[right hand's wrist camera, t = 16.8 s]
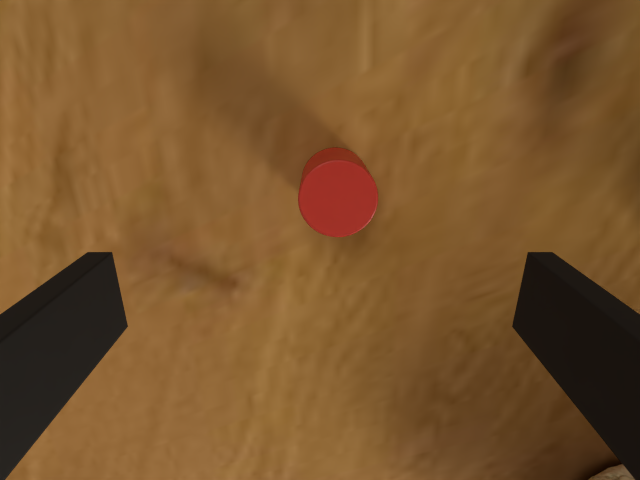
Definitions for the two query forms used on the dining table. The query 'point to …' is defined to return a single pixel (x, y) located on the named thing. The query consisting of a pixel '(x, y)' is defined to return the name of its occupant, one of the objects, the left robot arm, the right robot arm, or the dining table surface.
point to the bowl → (614, 474)
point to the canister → (337, 193)
